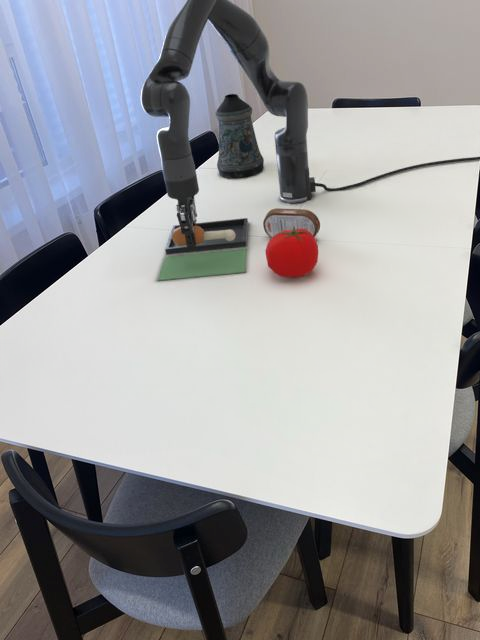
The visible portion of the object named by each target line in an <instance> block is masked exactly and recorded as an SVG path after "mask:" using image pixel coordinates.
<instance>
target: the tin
mask: <svg viewBox="0 0 480 640" xmlns="http://www.w3.org/2000/svg"><path fill="white" fill-rule="evenodd" d="M262 223H263V224H262V226H263V230H264V232H265V234H266V235H267V236H268V237H269V238H270V239H271V238H272V237H273V236H274V235H276V234H278V233H280V232H282V231H284V230H290V231H293V228H294V226H295V230H296V229H305V230H307V231H309V232H311V233H312V235H313V236H314V237H315V238H316V237H317V234H318V233H319V232H320V229H321V222H320V219H319V217H318V216H317V214H316V213H314V212H313V211H311V210H309V209H305V208H281V207H280V208H271V210H269V211H268V212H267V213H266V215H265V217H264V219H263V221H262Z"/></svg>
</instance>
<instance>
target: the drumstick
mask: <svg viewBox="0 0 480 640" xmlns="http://www.w3.org/2000/svg"><path fill="white" fill-rule="evenodd" d="M185 228H189V227H188V226H187V227H185ZM193 228H194V235H195V241H196V245H197V244H200V243H202V242H203V240H213V239H223V238H225V239H226V240H228V241H232V240H234V239H235V232H234V231H233V230H230V229H229V230H220V231H210V232H204V230H203V229H202V228H201V227H199V226H193ZM172 239H173V241H174V243H175V244H177V245H179V246H187V243H186V239H185V234H182V233H181V228H180V227H178V228H176V229H175V230H174V231H173V233H172Z"/></svg>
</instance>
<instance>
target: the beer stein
mask: <svg viewBox="0 0 480 640" xmlns="http://www.w3.org/2000/svg"><path fill="white" fill-rule="evenodd" d="M252 114H253V107H252V106H251V105H250V104H248V103H247V102H246V101H244V100H243V99H242V98H240V96H239V95H238V94H236V93H229V94H226V95H224V99H223V101H222V102H221V103H220V105H219V106H218V108H217V109H216V111H215V117H216V119H217V121H218V156H217V157H218V158H217V163H216V167H217V170H218V173H219V176H220V177H221V178H223V179H226V180H227V179H228V180H240V179H241V180H242V179H247V178H251V177H256V176H257V175H259V174H261V173H262V172H263V170H264V164H265V163H264V162H265V158H264V156H263V154H262V153H261V150H260V147H259V144H258V141H257V136H256V132H255V128H254V125H253V121H252Z"/></svg>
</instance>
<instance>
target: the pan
mask: <svg viewBox="0 0 480 640" xmlns="http://www.w3.org/2000/svg"><path fill="white" fill-rule="evenodd" d="M196 225H197V226H199V227H201V228H202V229H203V230H204V232H210V231H220V230H229V229H230V230H233V231H234V232H235V239H234V240H232V241H228V240H226V239H225V238H223V239H213V240H203V242H202V243H200V244H197V245H196V246H195V247H187V246H179V245H177V244H175V243H174V241H173V239H172V233H173V231H174V230H175V229H176V228H178V227H180V225H179V224H175V225H172V228H171V230H170V234H169V237H168V240H167V242H166V246H165V249H164V251H165V255H167V256H168V255H176V254H177V255H178V254H187V253H197V252H207V251H218V250H229V249H236V248H237V249H239V248H247V246H248V245H247V244H248V231H249V218H248V217H245V218H234V219H224V220H223V219H222V220H215V221H213V220H212V221H206V222H196ZM185 227H187V226H185Z"/></svg>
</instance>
